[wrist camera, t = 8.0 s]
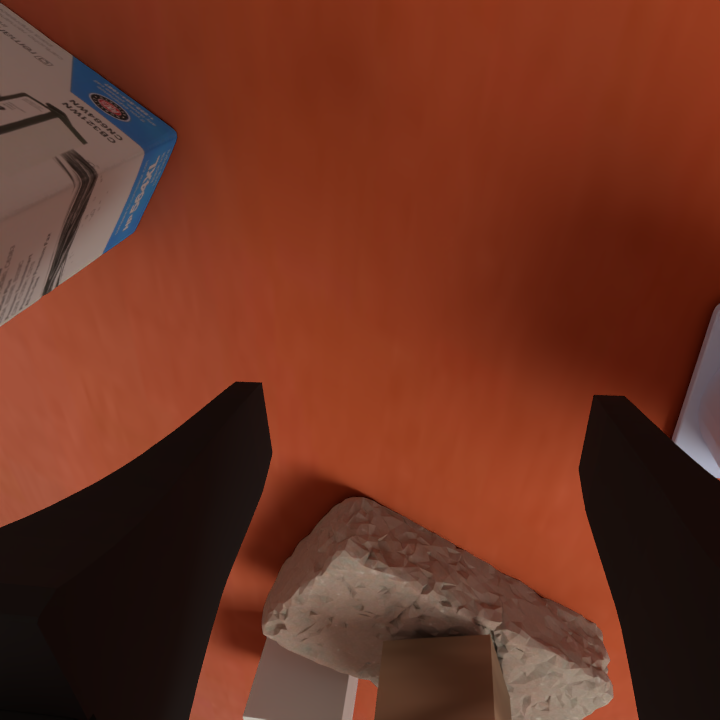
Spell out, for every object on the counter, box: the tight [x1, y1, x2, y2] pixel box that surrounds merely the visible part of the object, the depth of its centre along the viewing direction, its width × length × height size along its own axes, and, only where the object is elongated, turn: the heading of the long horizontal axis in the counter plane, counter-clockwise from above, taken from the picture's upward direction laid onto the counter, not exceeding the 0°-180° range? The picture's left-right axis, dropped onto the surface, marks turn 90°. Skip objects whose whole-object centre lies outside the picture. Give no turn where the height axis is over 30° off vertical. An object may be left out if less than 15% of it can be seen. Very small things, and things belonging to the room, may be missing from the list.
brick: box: [262, 497, 613, 720], centre depth 30 cm, size 16×8×5 cm, turn 58°
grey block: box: [243, 637, 358, 720], centre depth 33 cm, size 5×5×6 cm
